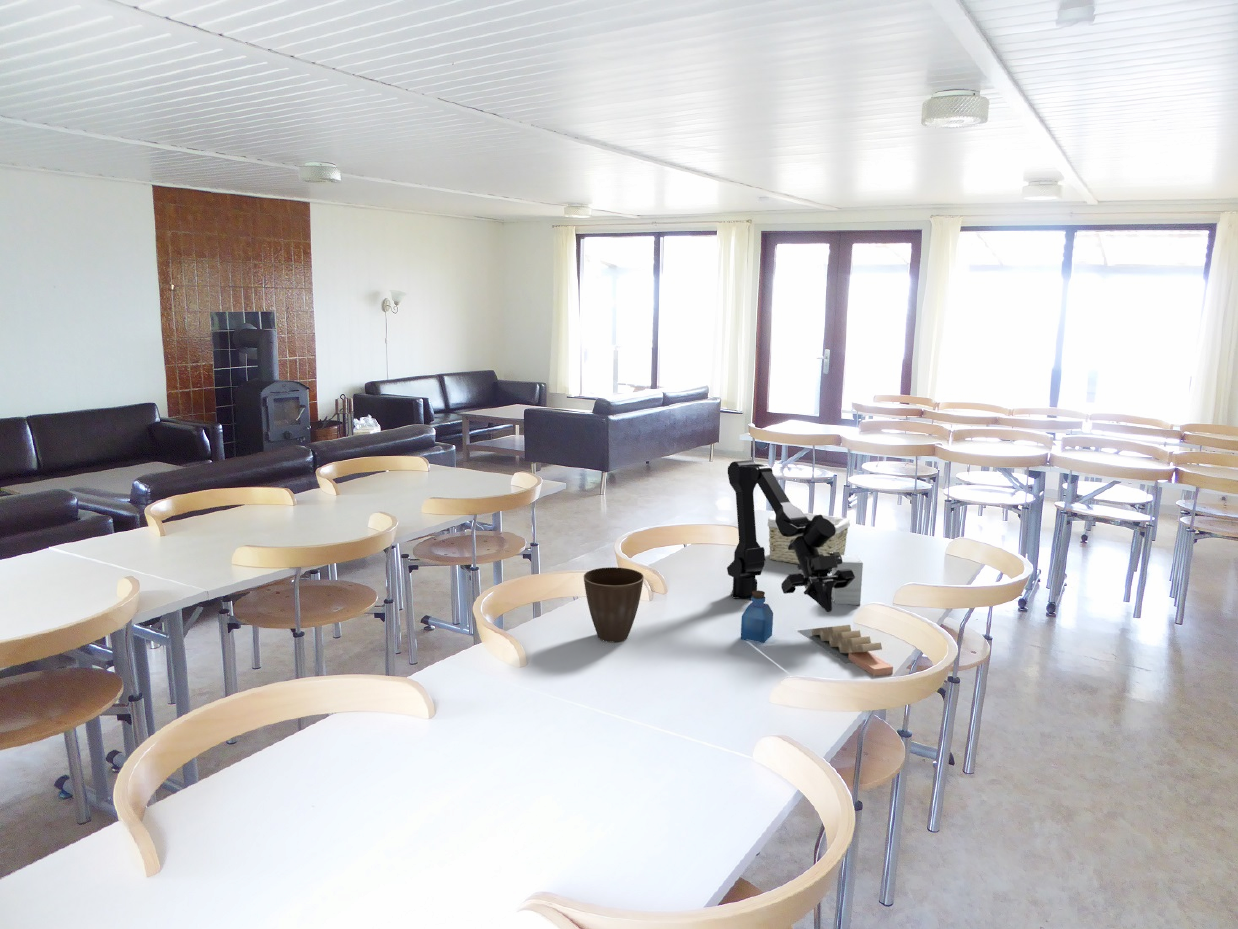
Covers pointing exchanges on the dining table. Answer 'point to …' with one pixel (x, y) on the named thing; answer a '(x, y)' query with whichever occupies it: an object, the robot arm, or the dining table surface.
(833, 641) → the domino
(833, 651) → the mat
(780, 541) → the storage basket
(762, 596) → the perfume bottle
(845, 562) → the supplement box
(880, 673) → the domino
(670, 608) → the dining table surface
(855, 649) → the domino
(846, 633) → the domino
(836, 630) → the domino
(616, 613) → the plant pot
